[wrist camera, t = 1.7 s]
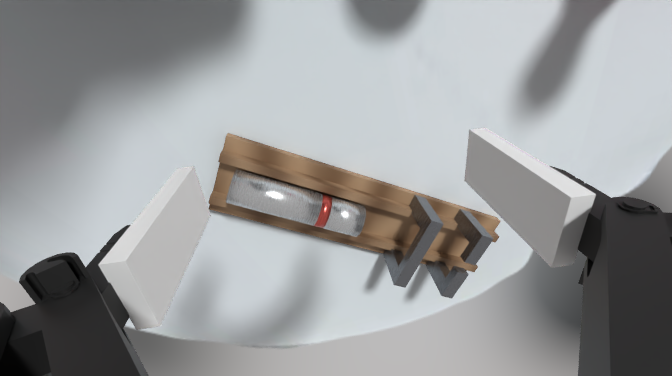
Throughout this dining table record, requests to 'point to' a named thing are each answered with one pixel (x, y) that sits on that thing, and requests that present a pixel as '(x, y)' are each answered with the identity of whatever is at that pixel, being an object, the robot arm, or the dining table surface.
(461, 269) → the collars
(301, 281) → the dining table surface
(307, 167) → the cradle
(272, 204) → the tube
